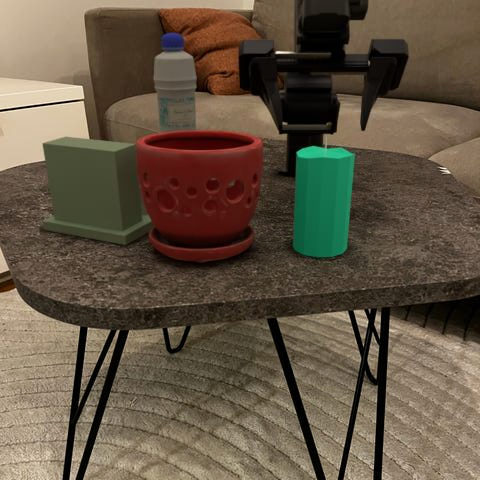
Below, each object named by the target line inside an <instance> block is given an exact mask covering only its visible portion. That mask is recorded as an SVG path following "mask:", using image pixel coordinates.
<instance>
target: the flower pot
mask: <svg viewBox="0 0 480 480" xmlns="http://www.w3.org/2000/svg"><path fill="white" fill-rule="evenodd" d="M135 144H136V157H137V171H138V179H139V185H140V189H141V194H142V199H143V202H144V205H145V208H146V210H147V213H148V215H149V217H150V219H151V221H152V222H153V224H154V227H153V228H152V229H151V230H150V232H148V238H149V239H148V240H149V242H150V244H151V245H152V247H153V248H154V249H155V250H156V251H158V252H159V253H160V254H162V255H164V256H166V257H169V258H172V259H175V260H179V261H185V262H196V263H197V264H205V263H207V262H213V261H214V262H215V261H220V260H224V259H225V260H226V259H229V258H232V257H234V256H237V255H239V254H241V253H243V252H245V251H246V250H247V249H248V248H249V247H250V246H251V245H252V243H253V241H254V239H255V235H256V234H255V233H256V232H255V229H254V228H253V227H252V226H251V225H250V223H251V221H252V218H253V216H254V215H255V212H256V210H257V206H258V204H259V198H260V194H261V186H262V175H263V170H264V169H263V167H264V143H263V140H262V139H261V138H260V137H259V136H256V135H252V134H248V133H244V132H238V131H237V132H236V131H227V130H211V129H208V130H207V129H206V130H205V129H200V130H199V129H196V130H192V131H175V132H166V133H160V132H159V133H154V134H150V135H144V136H143V137H139V139H137V141H136V143H135ZM232 182H234V183H233V185H230V184H231V183H232Z"/></svg>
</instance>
